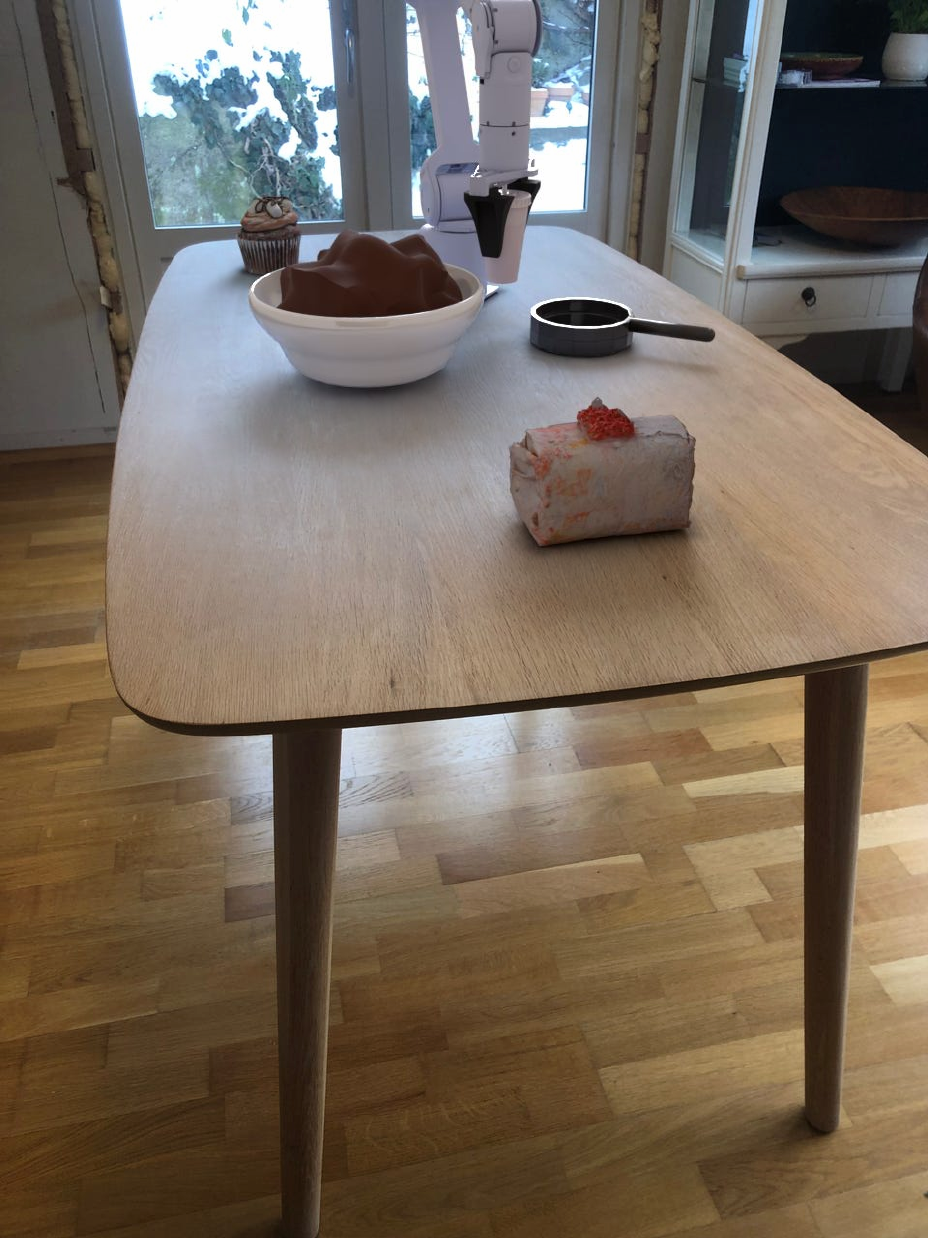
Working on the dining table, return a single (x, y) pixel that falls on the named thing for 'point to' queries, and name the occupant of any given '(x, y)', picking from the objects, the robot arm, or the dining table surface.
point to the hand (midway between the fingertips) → (501, 250)
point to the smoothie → (510, 240)
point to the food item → (603, 476)
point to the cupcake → (269, 235)
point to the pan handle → (671, 330)
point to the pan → (581, 326)
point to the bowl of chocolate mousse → (368, 311)
